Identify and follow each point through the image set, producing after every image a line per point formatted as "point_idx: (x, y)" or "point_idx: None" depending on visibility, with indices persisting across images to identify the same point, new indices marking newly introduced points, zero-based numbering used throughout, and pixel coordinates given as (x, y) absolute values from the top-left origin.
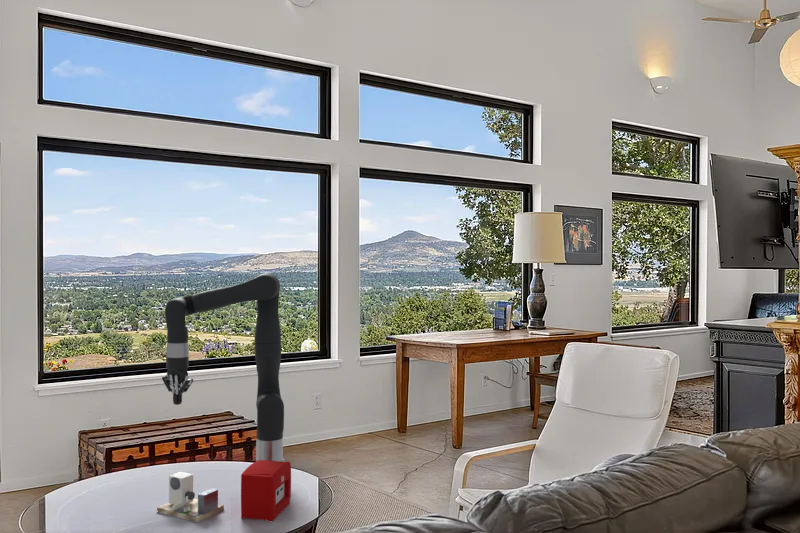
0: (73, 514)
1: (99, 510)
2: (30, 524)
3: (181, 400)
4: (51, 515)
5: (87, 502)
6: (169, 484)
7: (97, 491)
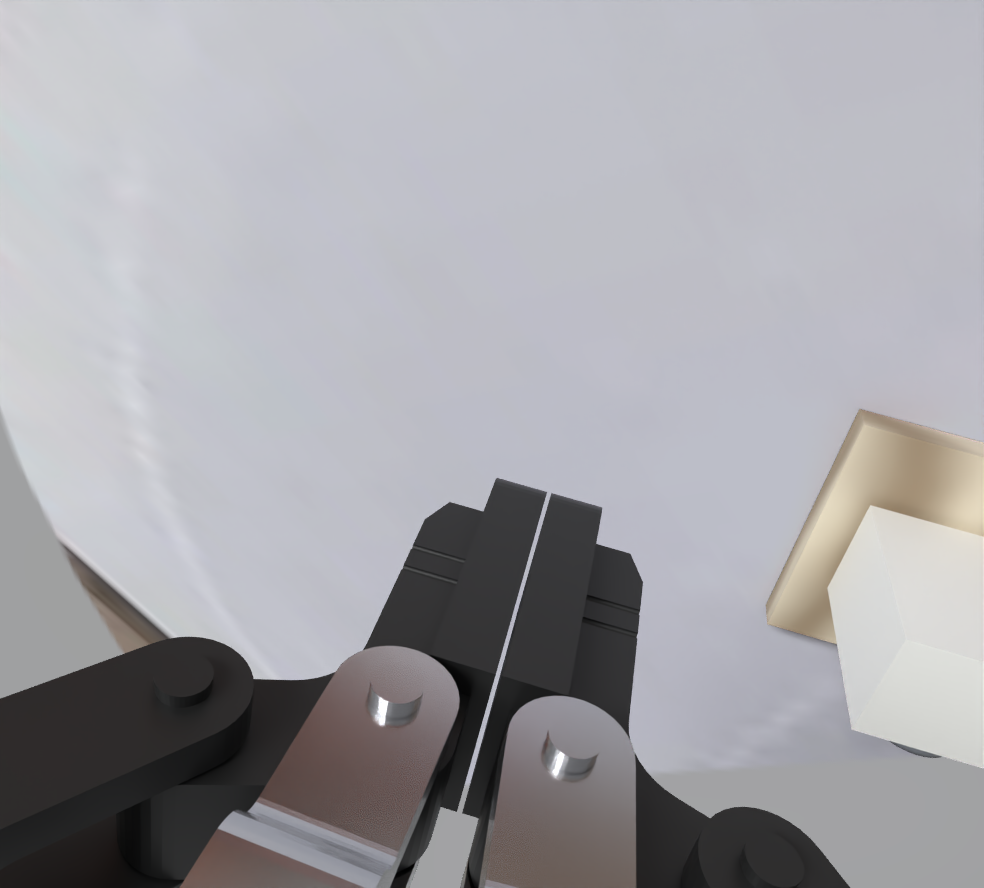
0: None
1: None
2: None
3: (634, 609)
4: None
5: (286, 541)
6: (846, 680)
7: (195, 379)
